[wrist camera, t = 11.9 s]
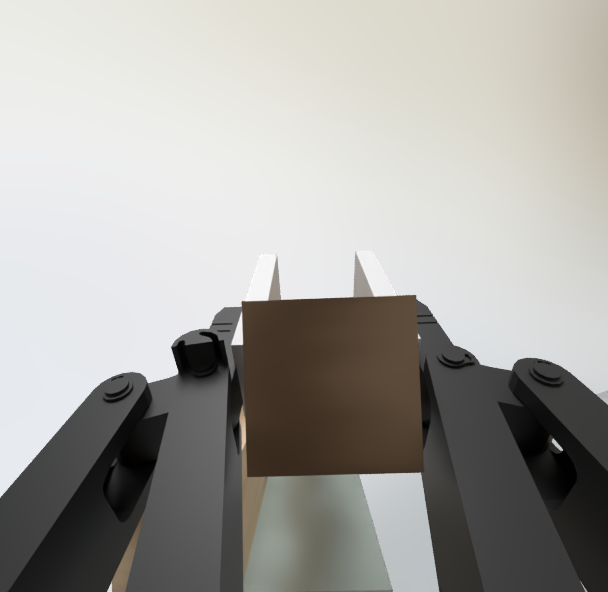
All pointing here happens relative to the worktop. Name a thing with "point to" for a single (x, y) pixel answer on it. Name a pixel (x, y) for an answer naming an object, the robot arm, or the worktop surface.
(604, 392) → the worktop surface
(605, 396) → the worktop surface
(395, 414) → the rail
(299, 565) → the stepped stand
